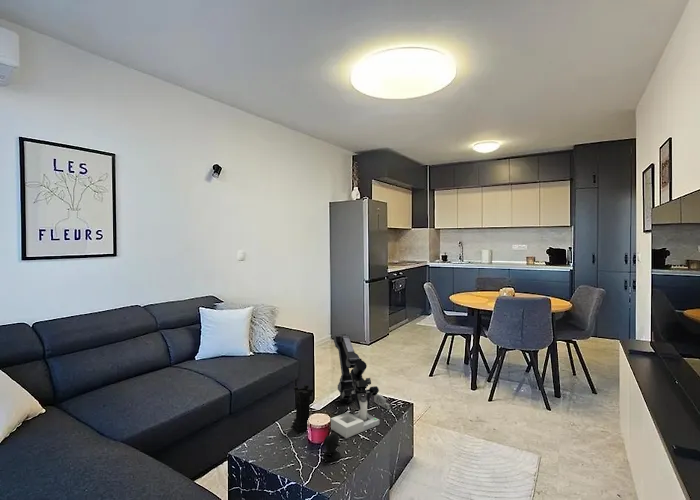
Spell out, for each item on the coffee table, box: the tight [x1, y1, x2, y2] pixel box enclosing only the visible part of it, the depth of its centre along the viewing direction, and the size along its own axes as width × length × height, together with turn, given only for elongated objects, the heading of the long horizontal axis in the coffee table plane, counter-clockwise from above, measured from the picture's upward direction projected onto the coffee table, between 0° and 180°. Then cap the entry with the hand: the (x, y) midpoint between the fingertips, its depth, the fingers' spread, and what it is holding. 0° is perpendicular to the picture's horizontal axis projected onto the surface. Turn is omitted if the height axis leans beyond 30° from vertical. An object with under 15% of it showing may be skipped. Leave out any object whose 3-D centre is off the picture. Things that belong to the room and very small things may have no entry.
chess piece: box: [291, 384, 314, 435], centre depth 188 cm, size 8×8×20 cm
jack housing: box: [330, 412, 381, 439], centre depth 192 cm, size 12×22×5 cm, turn 131°
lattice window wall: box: [373, 393, 391, 410], centre depth 217 cm, size 12×2×6 cm, turn 37°
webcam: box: [322, 432, 342, 463], centre depth 164 cm, size 8×8×10 cm
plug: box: [358, 395, 368, 422], centre depth 195 cm, size 4×4×12 cm
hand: (363, 409), depth 194 cm, fingers closed on plug, 4 cm apart
